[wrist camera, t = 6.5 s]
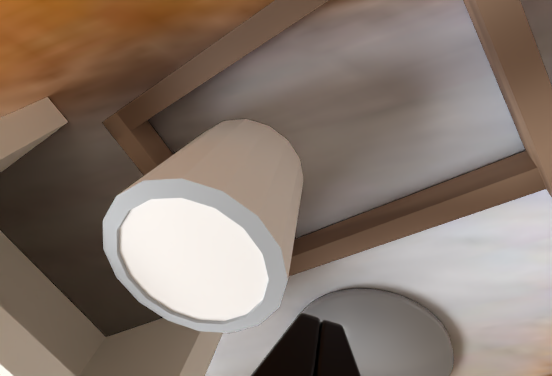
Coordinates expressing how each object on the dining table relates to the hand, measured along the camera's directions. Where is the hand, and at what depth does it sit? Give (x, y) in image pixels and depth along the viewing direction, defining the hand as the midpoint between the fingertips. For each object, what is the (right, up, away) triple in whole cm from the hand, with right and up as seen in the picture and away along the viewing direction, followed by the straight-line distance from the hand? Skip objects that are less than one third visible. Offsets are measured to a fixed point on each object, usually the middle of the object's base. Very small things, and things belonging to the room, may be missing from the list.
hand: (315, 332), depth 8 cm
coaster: (+5, -6, +16) cm, 18 cm away
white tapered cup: (-2, +4, +12) cm, 13 cm away
